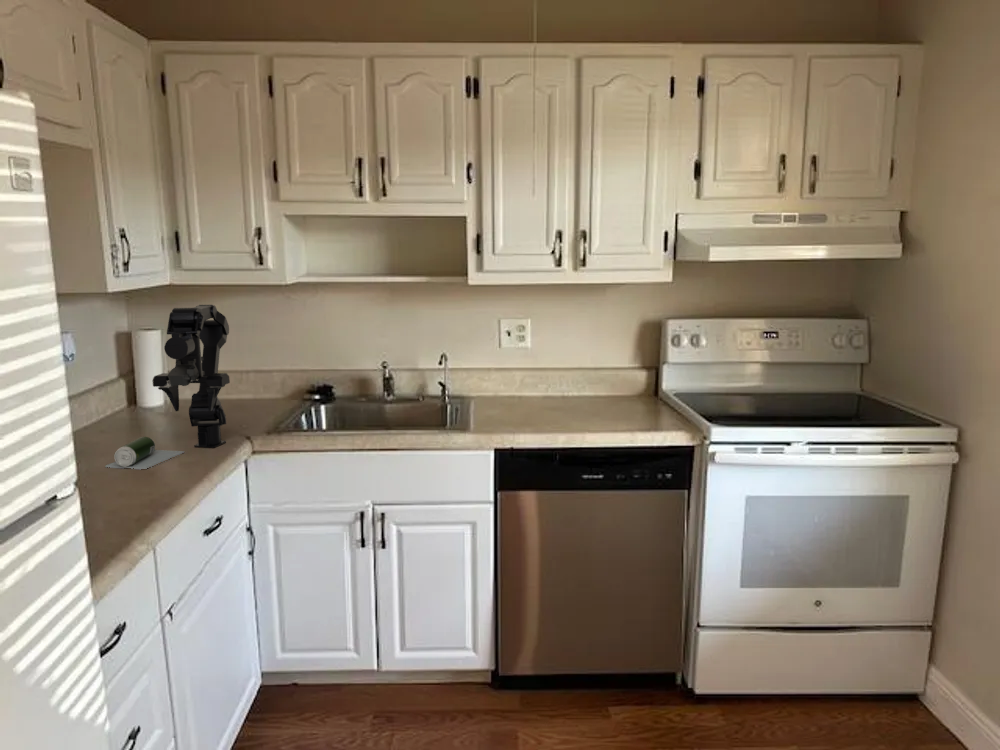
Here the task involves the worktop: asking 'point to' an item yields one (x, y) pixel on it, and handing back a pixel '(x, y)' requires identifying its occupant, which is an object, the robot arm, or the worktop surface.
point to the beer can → (134, 451)
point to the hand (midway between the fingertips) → (193, 411)
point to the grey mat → (150, 459)
